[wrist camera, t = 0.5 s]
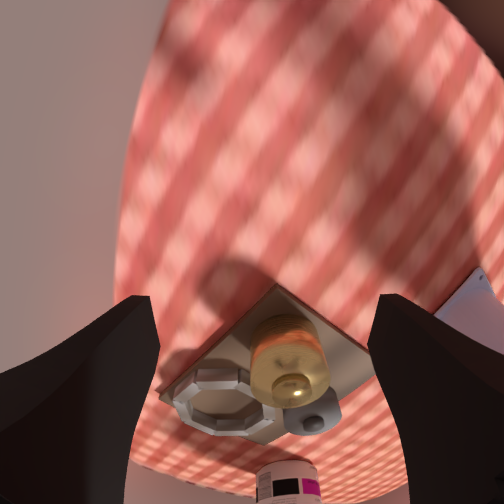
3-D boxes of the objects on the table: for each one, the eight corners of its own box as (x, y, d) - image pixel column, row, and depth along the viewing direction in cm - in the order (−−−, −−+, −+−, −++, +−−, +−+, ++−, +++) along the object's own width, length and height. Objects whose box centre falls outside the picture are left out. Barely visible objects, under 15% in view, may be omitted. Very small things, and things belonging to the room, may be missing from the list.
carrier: (382, 362, 23) (396, 390, 20) (263, 441, 28) (264, 467, 24) (276, 283, 20) (281, 315, 16) (159, 394, 24) (151, 423, 21)
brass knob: (331, 335, 21) (349, 387, 16) (285, 373, 22) (291, 425, 17) (283, 301, 19) (292, 354, 15) (236, 344, 21) (233, 399, 16)
